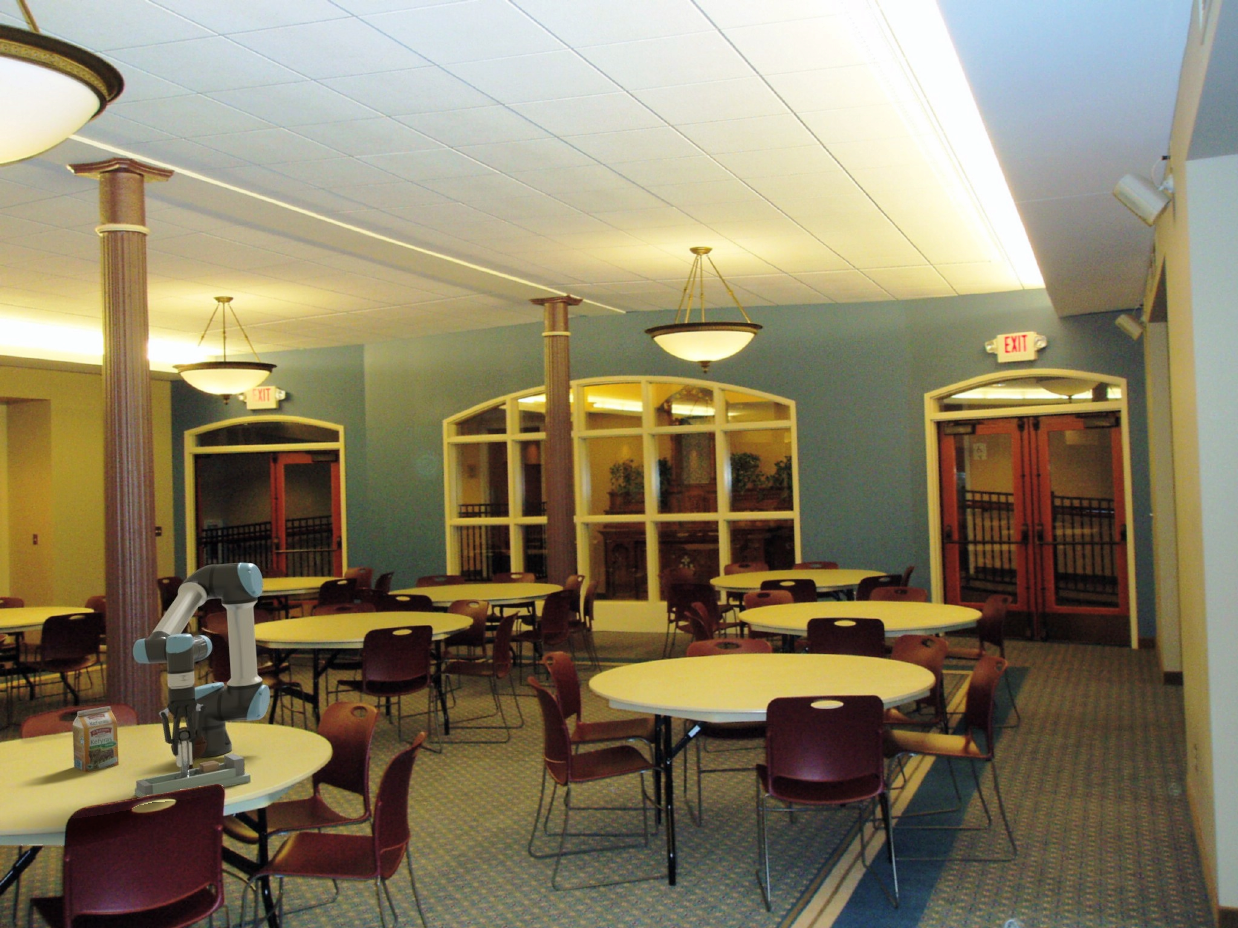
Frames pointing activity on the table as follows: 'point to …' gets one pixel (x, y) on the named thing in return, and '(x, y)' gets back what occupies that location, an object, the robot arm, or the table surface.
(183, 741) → the lever
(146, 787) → the grey slotted track
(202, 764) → the walnut block
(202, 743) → the ice cream bowl
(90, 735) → the milk carton
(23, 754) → the table surface
